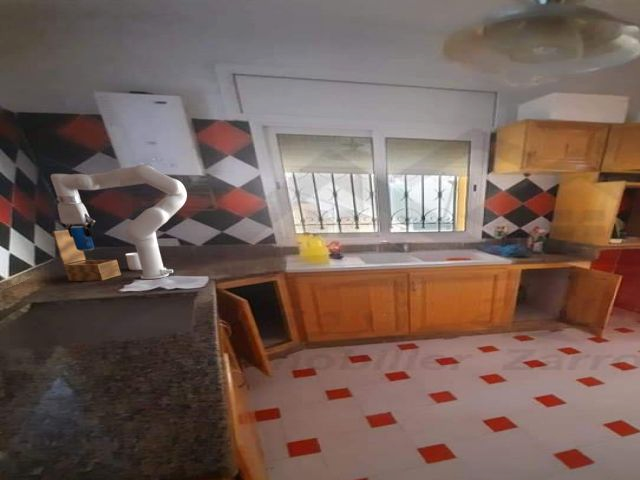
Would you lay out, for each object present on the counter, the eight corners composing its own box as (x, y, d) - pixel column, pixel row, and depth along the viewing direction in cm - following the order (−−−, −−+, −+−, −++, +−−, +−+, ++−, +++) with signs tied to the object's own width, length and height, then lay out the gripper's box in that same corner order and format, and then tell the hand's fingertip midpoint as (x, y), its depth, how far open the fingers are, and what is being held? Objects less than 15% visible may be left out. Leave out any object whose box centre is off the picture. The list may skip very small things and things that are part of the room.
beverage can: (83, 251, 161) (75, 227, 157) (73, 250, 162) (65, 227, 158) (98, 249, 167) (91, 226, 163) (88, 248, 168) (80, 225, 164)
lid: (76, 228, 175) (66, 228, 175) (54, 231, 163) (43, 231, 163) (85, 259, 181) (76, 259, 180) (64, 264, 169) (53, 264, 168)
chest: (121, 274, 185) (116, 260, 182) (102, 280, 173) (97, 264, 171) (90, 275, 184) (85, 260, 181) (69, 280, 172) (63, 265, 169)
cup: (126, 269, 198) (121, 254, 195) (145, 266, 206) (141, 251, 203) (133, 271, 193) (129, 255, 190) (152, 268, 202) (148, 252, 199)
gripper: (42, 200, 152) (55, 237, 157) (82, 200, 154) (94, 237, 160) (57, 200, 159) (69, 235, 165) (95, 200, 161) (106, 235, 167)
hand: (81, 236), depth 162 cm, fingers closed on beverage can, 6 cm apart
